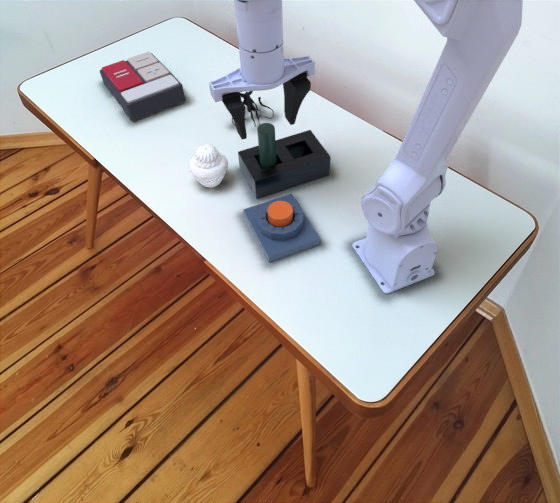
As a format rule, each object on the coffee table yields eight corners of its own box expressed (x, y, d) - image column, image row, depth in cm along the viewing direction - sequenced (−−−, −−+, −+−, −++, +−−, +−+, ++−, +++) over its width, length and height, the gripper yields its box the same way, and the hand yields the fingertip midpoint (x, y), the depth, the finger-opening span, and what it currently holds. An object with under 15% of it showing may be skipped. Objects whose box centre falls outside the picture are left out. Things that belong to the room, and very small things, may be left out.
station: (319, 244, 75) (320, 231, 72) (269, 263, 73) (268, 250, 71) (291, 199, 81) (291, 185, 78) (243, 215, 79) (242, 201, 76)
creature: (278, 127, 93) (265, 95, 96) (279, 107, 88) (265, 73, 92) (236, 137, 92) (224, 104, 95) (235, 117, 87) (222, 83, 90)
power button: (296, 222, 74) (296, 214, 73) (273, 230, 73) (273, 222, 72) (286, 205, 76) (286, 197, 75) (264, 213, 75) (263, 205, 74)
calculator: (150, 48, 102) (182, 80, 94) (155, 68, 105) (186, 101, 97) (97, 66, 99) (125, 101, 90) (104, 86, 102) (132, 122, 93)
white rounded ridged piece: (185, 178, 84) (177, 144, 79) (218, 162, 86) (212, 129, 81) (204, 200, 81) (197, 167, 75) (237, 183, 83) (233, 150, 78)
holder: (329, 175, 84) (330, 156, 80) (256, 199, 81) (254, 181, 78) (310, 148, 88) (310, 129, 85) (239, 170, 85) (237, 151, 82)
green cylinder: (279, 180, 83) (277, 130, 75) (264, 185, 83) (261, 135, 75) (273, 170, 85) (270, 120, 77) (258, 175, 84) (254, 125, 76)
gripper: (299, 13, 69) (299, 100, 80) (196, 39, 66) (210, 125, 76) (323, 38, 65) (319, 126, 76) (214, 67, 62) (226, 154, 72)
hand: (266, 127), depth 76 cm, fingers open, 7 cm apart
